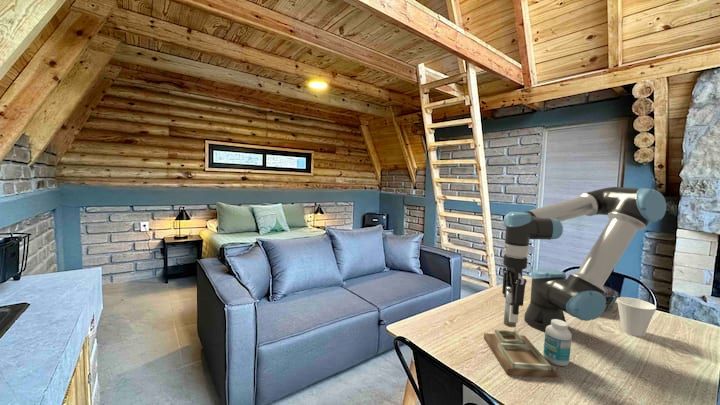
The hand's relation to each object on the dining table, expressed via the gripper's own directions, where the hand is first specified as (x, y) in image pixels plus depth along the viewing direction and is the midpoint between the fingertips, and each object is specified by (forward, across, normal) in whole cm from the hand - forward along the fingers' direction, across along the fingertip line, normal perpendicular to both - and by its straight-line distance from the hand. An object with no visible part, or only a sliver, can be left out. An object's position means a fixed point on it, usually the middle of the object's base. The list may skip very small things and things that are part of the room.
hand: (510, 318), depth 109 cm
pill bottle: (+11, +7, +13) cm, 18 cm away
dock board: (+10, +6, 0) cm, 12 cm away
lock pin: (+2, 0, 0) cm, 2 cm away
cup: (+10, -16, +56) cm, 59 cm away
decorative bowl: (+10, -43, +54) cm, 70 cm away
